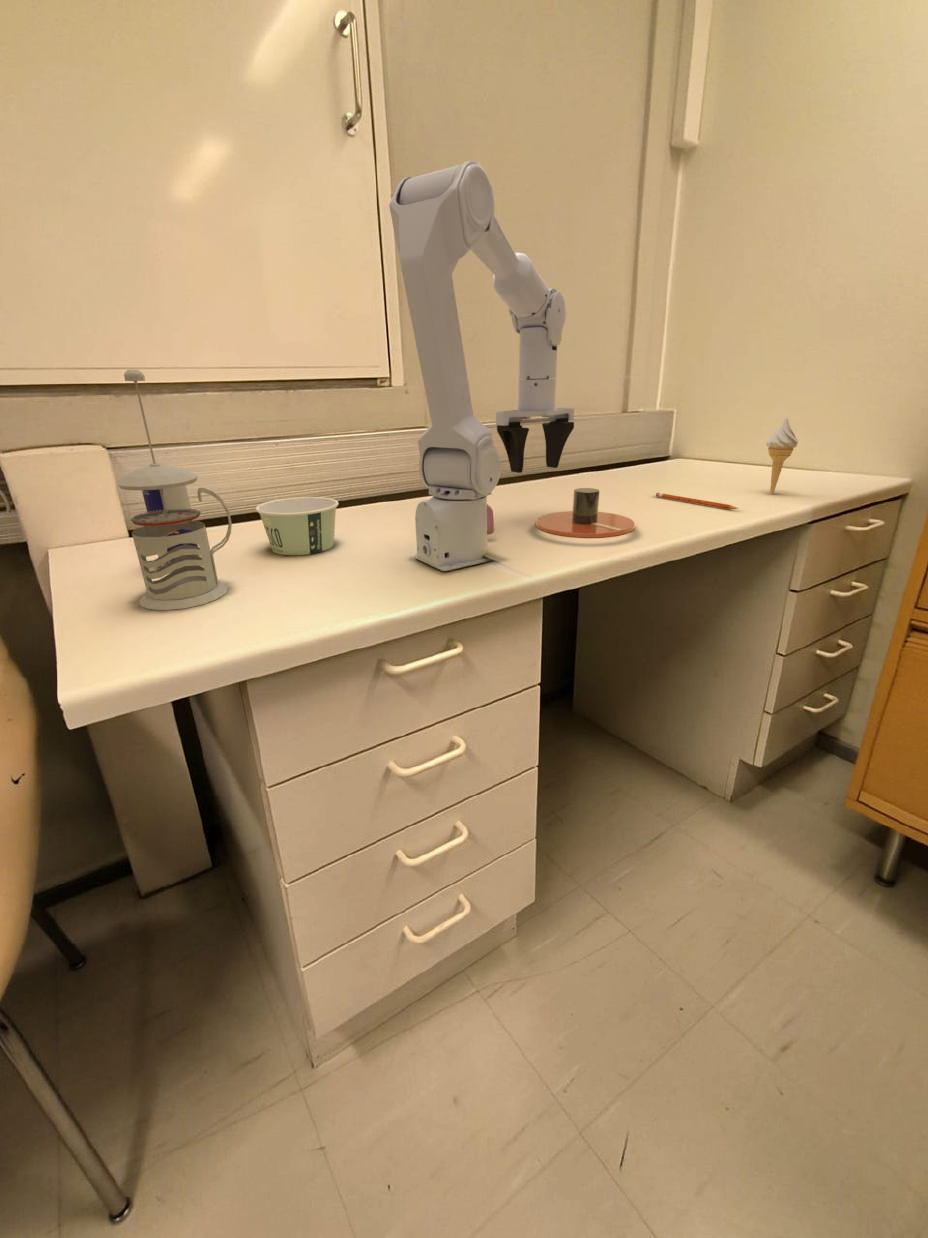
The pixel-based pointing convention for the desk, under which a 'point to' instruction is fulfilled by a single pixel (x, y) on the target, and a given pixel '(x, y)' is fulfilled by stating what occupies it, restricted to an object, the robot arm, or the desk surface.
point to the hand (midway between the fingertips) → (534, 469)
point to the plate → (584, 530)
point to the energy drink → (172, 500)
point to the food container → (299, 524)
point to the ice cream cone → (780, 450)
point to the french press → (172, 538)
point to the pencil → (696, 501)
